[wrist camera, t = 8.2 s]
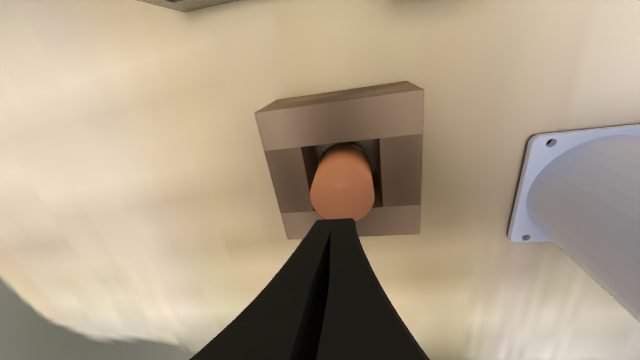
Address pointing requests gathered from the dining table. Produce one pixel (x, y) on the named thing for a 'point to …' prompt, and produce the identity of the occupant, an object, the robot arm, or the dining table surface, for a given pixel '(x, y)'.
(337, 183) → the gauge button
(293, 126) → the square wooden frame
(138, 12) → the dining table surface
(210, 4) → the rail
